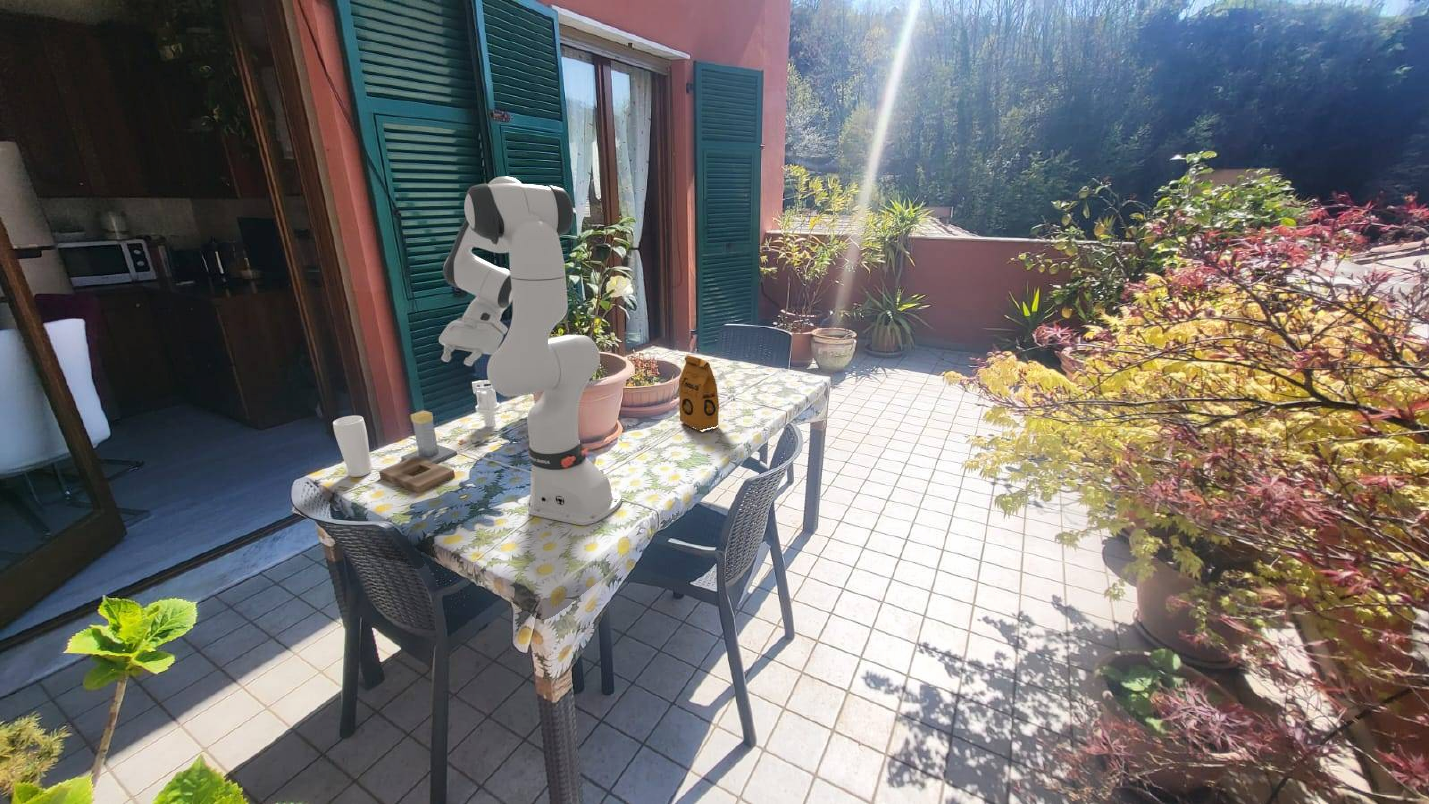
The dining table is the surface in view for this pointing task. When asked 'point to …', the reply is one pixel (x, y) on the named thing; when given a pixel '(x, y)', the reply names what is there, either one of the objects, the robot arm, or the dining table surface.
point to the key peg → (425, 433)
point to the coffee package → (698, 394)
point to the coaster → (442, 455)
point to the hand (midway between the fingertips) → (455, 362)
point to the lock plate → (421, 482)
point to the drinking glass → (353, 444)
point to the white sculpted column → (486, 401)
